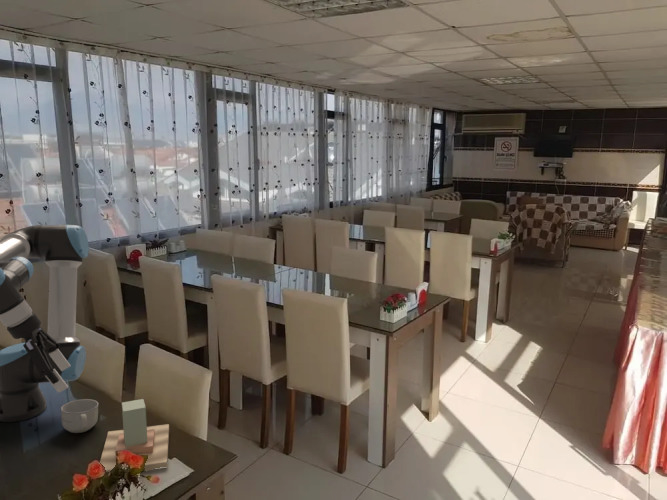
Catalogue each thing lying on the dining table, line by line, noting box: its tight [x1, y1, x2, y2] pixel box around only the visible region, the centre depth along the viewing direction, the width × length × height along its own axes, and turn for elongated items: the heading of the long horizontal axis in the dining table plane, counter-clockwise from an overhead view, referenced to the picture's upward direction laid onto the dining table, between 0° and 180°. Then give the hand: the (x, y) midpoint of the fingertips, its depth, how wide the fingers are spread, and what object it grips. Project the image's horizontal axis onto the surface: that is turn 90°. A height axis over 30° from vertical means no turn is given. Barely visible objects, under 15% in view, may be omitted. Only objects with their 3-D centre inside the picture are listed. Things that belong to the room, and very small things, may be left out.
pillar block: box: [121, 398, 148, 447], centre depth 151 cm, size 6×6×11 cm
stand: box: [99, 423, 170, 472], centre depth 152 cm, size 22×18×4 cm
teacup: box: [60, 398, 99, 434], centre depth 164 cm, size 14×11×8 cm
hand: (64, 378), depth 147 cm, fingers open, 13 cm apart
